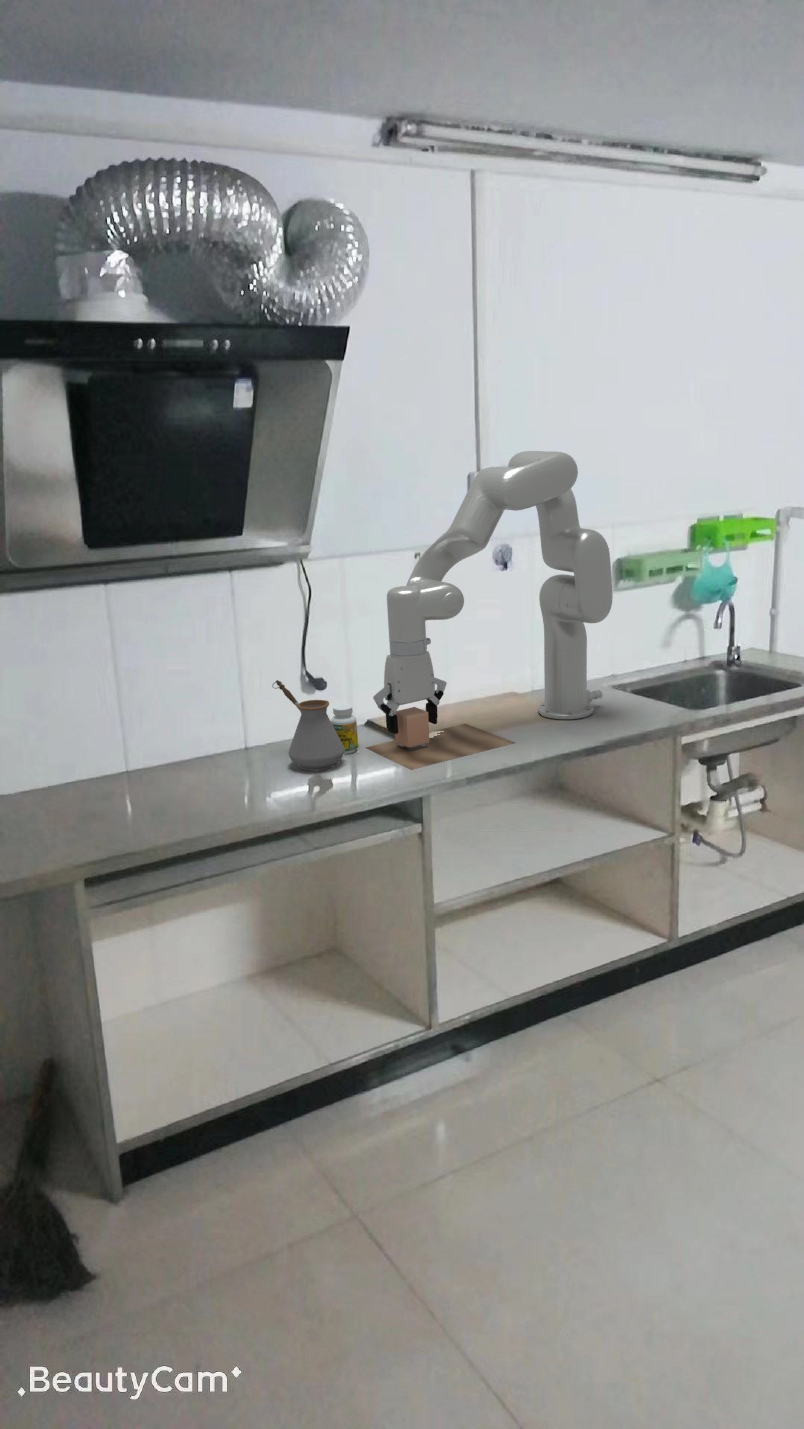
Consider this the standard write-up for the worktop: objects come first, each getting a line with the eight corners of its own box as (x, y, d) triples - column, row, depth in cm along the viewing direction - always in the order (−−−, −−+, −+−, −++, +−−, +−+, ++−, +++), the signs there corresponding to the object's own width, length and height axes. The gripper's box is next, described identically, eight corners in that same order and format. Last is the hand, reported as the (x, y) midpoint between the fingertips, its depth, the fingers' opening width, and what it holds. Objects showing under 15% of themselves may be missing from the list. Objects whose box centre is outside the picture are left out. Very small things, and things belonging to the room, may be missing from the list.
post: (415, 741, 223) (413, 710, 221) (426, 746, 220) (425, 714, 218) (397, 746, 221) (396, 714, 219) (409, 751, 217) (407, 718, 215)
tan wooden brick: (415, 736, 224) (414, 706, 222) (429, 742, 219) (428, 712, 217) (395, 741, 221) (393, 711, 219) (408, 747, 217) (406, 716, 215)
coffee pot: (356, 765, 213) (351, 693, 209) (306, 778, 207) (301, 704, 203) (304, 741, 230) (299, 674, 226) (257, 752, 224) (251, 684, 220)
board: (465, 726, 235) (465, 723, 234) (515, 746, 220) (515, 742, 220) (365, 751, 221) (364, 747, 221) (411, 773, 207) (411, 769, 207)
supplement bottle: (360, 746, 225) (357, 703, 222) (356, 754, 220) (353, 710, 217) (335, 746, 225) (332, 703, 223) (331, 755, 220) (328, 711, 217)
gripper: (432, 637, 222) (436, 715, 227) (362, 651, 213) (367, 732, 218) (453, 643, 216) (456, 723, 221) (381, 658, 207) (386, 740, 212)
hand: (412, 727), depth 219 cm, fingers open, 9 cm apart
